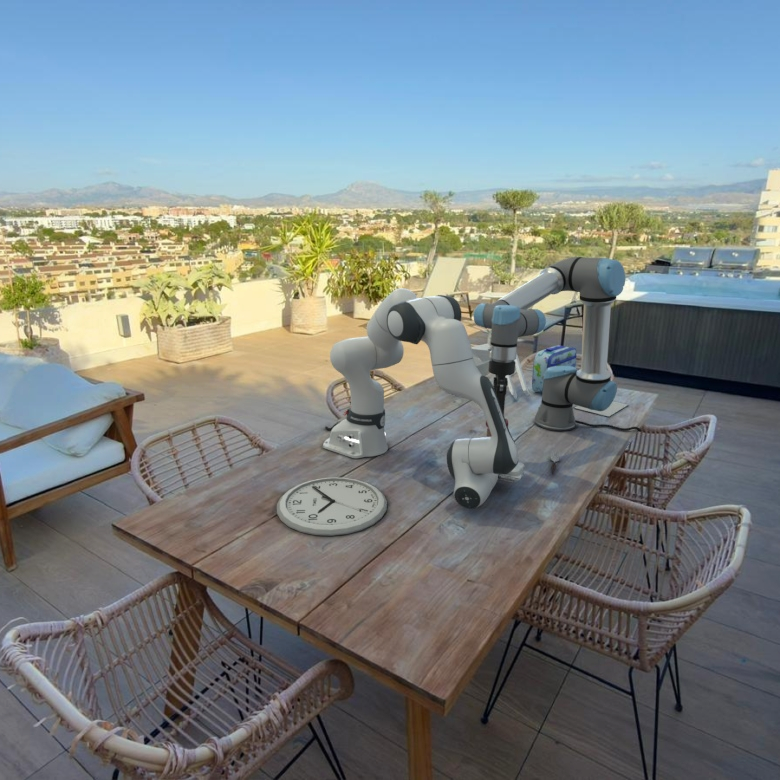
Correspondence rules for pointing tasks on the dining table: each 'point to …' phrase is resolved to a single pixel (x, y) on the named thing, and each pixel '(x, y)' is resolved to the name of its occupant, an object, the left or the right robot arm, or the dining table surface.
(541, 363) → the lunch box
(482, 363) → the white plastic object
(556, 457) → the fork
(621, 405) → the invitation card
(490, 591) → the dining table surface
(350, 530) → the wall clock
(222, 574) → the dining table surface
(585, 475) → the dining table surface
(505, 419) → the lid
